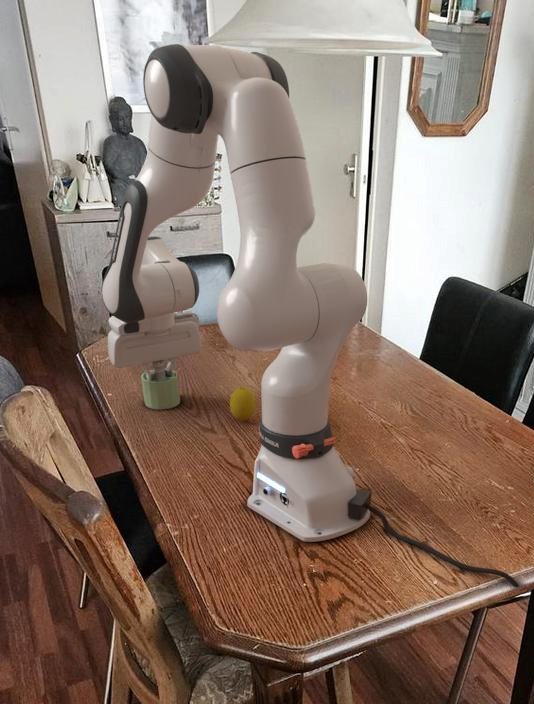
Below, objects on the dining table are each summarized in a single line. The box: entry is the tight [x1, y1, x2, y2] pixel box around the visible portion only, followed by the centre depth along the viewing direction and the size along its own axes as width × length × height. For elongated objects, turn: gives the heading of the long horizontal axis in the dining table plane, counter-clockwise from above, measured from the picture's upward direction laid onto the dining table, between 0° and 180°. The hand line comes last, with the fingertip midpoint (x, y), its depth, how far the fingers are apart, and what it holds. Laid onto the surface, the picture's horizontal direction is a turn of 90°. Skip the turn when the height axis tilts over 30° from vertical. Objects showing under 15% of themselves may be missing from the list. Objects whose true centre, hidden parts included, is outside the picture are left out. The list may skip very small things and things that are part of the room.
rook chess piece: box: [150, 360, 167, 382], centre depth 140 cm, size 4×4×8 cm
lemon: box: [229, 386, 257, 422], centre depth 135 cm, size 6×6×8 cm
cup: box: [140, 369, 181, 410], centre depth 142 cm, size 8×8×6 cm
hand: (160, 378), depth 140 cm, fingers closed on rook chess piece, 3 cm apart
